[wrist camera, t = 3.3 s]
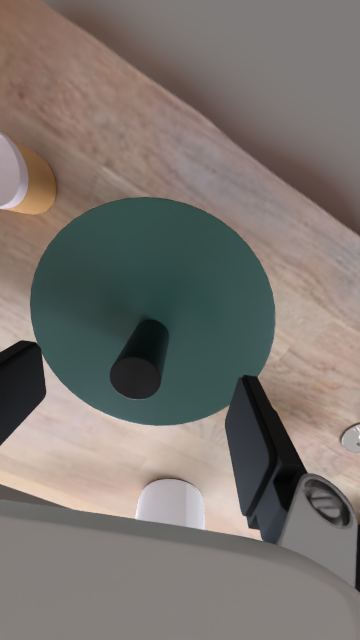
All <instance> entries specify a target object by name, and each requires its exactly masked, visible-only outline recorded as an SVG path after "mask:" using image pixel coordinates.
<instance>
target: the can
mask: <svg viewBox="0 0 360 640" xmlns="http://www.w3.org/2000/svg"><path fill="white" fill-rule="evenodd" d="M135 519H138V520H145V521H151V522H158V523H164V524H171V525H177V526H184V527H190V528H196V529H202V530H205V517H204V501H203V499H202V496H201V494H200V492H199V491H198V490H197V489H196V488H195V487H194V486H193V485H191V484H189V483H187V482H185V481H181V480H177V479H163V480H157V481H154V482H152V483H150V484H148V485H147V486H146V487H145V488H144V489H143V491H142V492H141V495H140V497H139V501H138V506H137V511H136V517H135Z"/></svg>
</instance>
